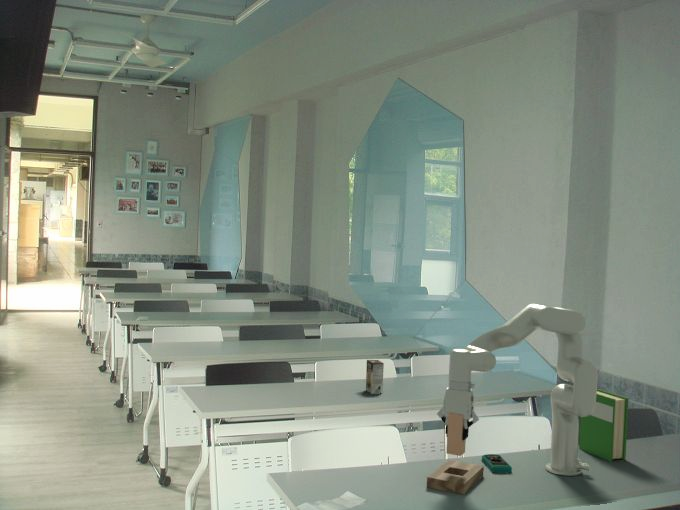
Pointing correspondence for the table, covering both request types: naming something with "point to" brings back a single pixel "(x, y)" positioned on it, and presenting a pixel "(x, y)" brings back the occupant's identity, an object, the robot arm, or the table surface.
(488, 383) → the table surface
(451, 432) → the square peg
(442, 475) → the wooden peg hole block
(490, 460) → the digital multimeter
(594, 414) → the hardback book
